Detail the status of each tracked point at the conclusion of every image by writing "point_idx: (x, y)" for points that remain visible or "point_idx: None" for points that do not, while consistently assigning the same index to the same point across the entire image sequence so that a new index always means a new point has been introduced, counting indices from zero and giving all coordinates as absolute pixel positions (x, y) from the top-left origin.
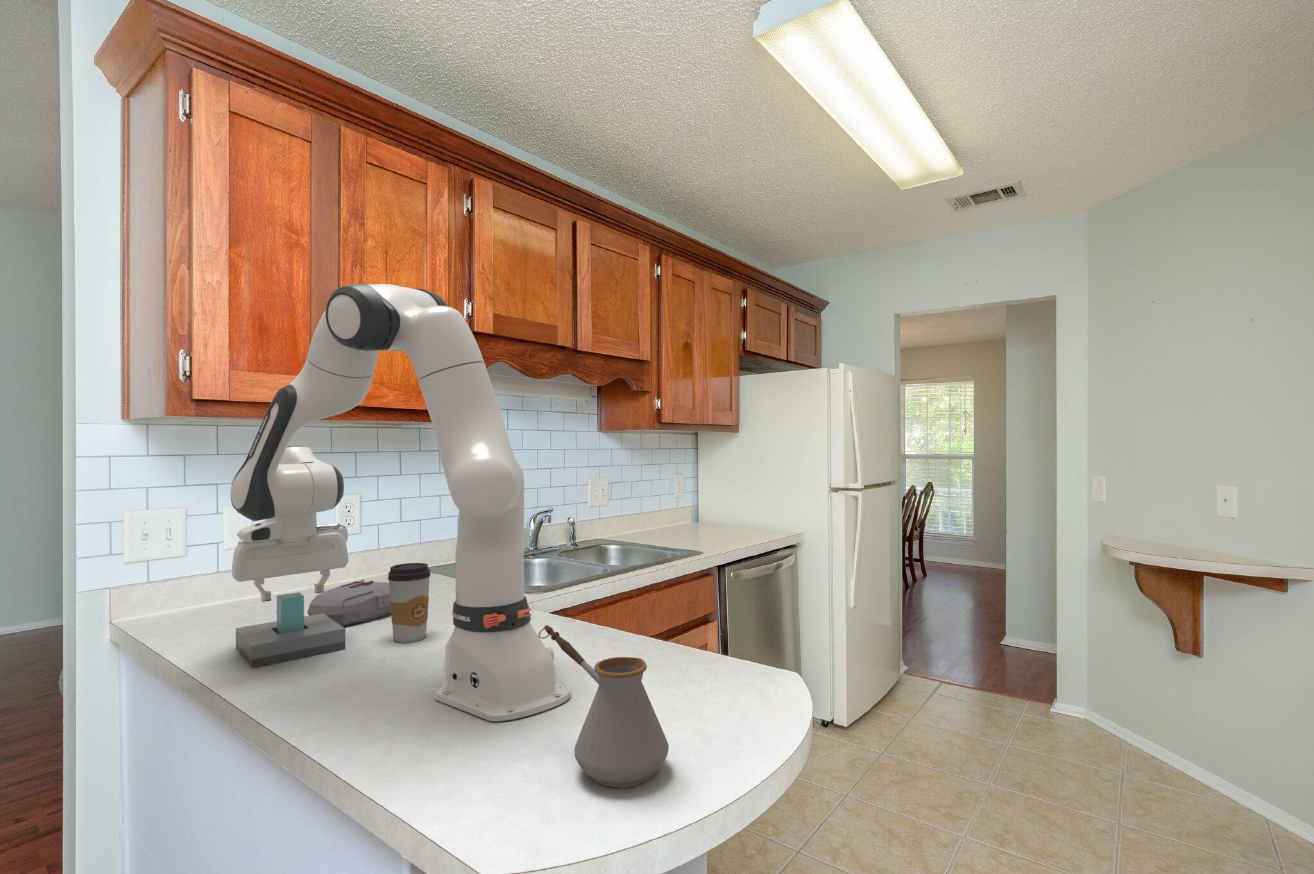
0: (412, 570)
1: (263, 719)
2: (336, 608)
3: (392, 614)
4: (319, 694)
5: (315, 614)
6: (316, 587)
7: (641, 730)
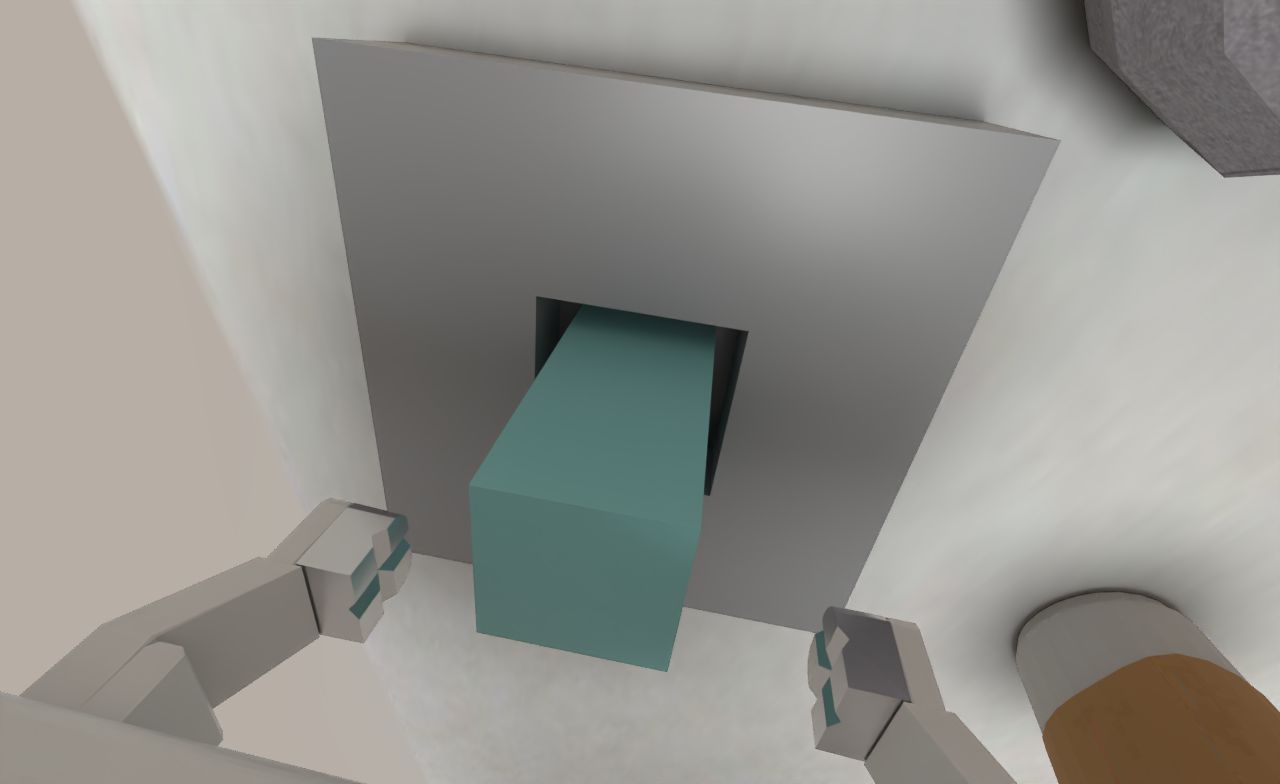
0: None
1: (429, 777)
2: (1251, 126)
3: (1074, 769)
4: (556, 769)
5: None
6: (813, 720)
7: None
